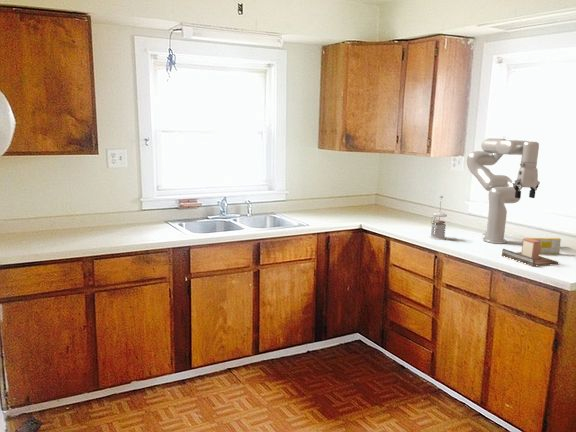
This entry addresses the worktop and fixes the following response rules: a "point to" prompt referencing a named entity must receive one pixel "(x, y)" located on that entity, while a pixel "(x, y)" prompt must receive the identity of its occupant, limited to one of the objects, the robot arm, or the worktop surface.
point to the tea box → (531, 248)
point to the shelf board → (537, 261)
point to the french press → (438, 226)
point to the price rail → (518, 256)
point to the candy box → (549, 245)
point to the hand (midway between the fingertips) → (524, 197)
